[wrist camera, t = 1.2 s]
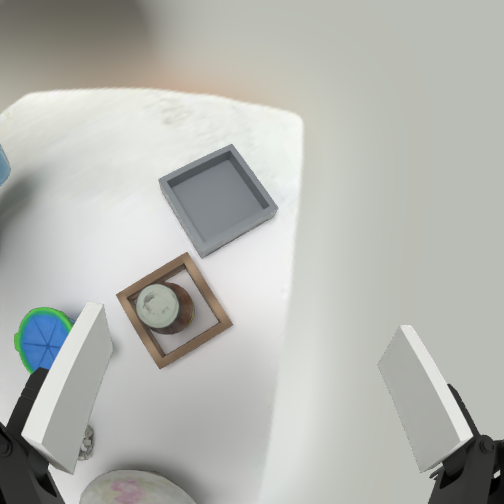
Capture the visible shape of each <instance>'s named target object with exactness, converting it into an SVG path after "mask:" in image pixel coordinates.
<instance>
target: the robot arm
mask: <svg viewBox="0 0 504 504" xmlns="http://www.w3.org/2000/svg"><path fill="white" fill-rule="evenodd" d="M10 171H11V168H10V164H9V161H8V159H7V157H6V155H5V153H4V150H3V148H2V146H1V144H0V186H1V185H2V184H3V183H4V182H5V181H6V179H7V178H8V177H9V175H10ZM113 350H114V349H113V345H112V341H111V337H110V333H109V328H108V324H107V319H106V314H105V309H104V304H99V303H93V302H87V304H86V305H85V307H84V309H83V310H82V312H81V314H80V315H79V317H78V319H77V320H76V322H75V324H74V326H73V327H72V329H71V331H70V333H69V335H68V336H67V338H66V340H65V342H64V344H63V346H62V347H61V349H60V351H59V353H58V355H57V357H56V359H55V361H54V363H53V365H52V367H51V369H50V370H49V369H45V368H42V367H39V368H38V369H37V370H36V371H34V372H33V373H32V374H31V375H30V377H29V379H28V381H27V383H26V385H25V388H24V389H23V391H22V393H21V397H19V399H18V401H17V404H16V406H15V408H14V410H13V412H12V415H11V417H10V419H9V422H8V424H7V426H6V427H5V426H4V425H3V424H2V423H1V422H0V504H65V502H64V500H63V498H62V497H61V495H60V493H59V491H58V489H57V487H56V485H55V482H54V480H53V478H52V476H51V474H50V472H49V470H48V465H49V463H50V464H51V465H52V466H53V467H55V468H56V469H59V470H61V471H64V472H67V473H69V474H72V475H73V474H74V470H75V466H76V462H77V459H78V455H79V451H80V448H81V444H82V441H83V437H84V434H85V430H86V427H87V424H88V421H89V417H90V414H91V411H92V408H93V405H94V402H95V399H96V396H97V393H98V390H99V388H100V385H101V382H102V379H103V376H104V374H105V371H106V368H107V365H108V363H109V360H110V358H111V355H112V352H113ZM377 365H378V368H379V370H380V372H381V374H382V377H383V379H384V381H385V383H386V386H387V388H388V391H389V393H390V395H391V398H392V400H393V402H394V405H395V407H396V410H397V412H398V415H399V417H400V420H401V422H402V425H403V427H404V430H405V432H406V435H407V438H408V440H409V443H410V445H411V448H412V451H413V453H414V456H415V459H416V462H417V465H418V467H419V470H420V473H422V472H425V471H427V470H430V469H432V468H434V467H436V466H437V465H438V464H440V463H441V462H442V463H443V466H442V467H440V468H439V469H437V470H436V471H435V472H433V473H432V474H431V475H430V477H429V478H433V477H434V476H435V475H437V474H438V476H436V477H435V478H434V480H436V482H435V485H434V488H433V491H432V494H431V497H430V499H429V502H428V504H504V440H496V441H493V440H492V439H491V438H490V437H489V436H487V435H480V434H479V432H478V430H477V428H476V426H475V424H474V422H473V420H472V418H471V416H470V414H469V412H468V410H467V409H466V408H465V405H464V403H463V402H462V399H461V397H460V396H459V394H458V392H457V391H456V390H455V389H454V388H453V387H452V386H451V385H450V384H446V382H445V380H444V379H443V377H442V375H441V373H440V372H439V370H438V368H437V366H436V365H435V363H434V361H433V360H432V358H431V356H430V355H429V353H428V351H427V350H426V348H425V347H424V345H423V343H422V342H421V340H420V338H419V337H418V335H417V334H416V332H415V330H414V329H413V327H412V326H411V325H401V326H399V327H398V329H397V331H396V332H395V334H394V336H393V338H392V340H391V342H390V344H389V345H388V347H387V349H386V351H385V352H384V354H383V356H382V357H381V359H380V361H379V363H378V364H377ZM499 470H500V476H498V477H497V478H494V474H495V473H496V472H497V471H499Z"/></svg>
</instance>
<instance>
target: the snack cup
mask: <svg viewBox="0 0 504 504" xmlns="http://www.w3.org/2000/svg"><path fill="white" fill-rule="evenodd" d="M75 322H76V321H74V320H72V319H70V318H68V317H67V316H66V315H65V314H64V313H63V312H61V311H58V310H56V309H53V308H48V307H41V308H36V309H33V310H31V311H30V312H29V313H28V314H27V315H26V316H25V317H24V319H23V320H22V322H21V324H20V327H19V331H18V333H16V334H15V335H14V343H15V349H16V350H17V351H18V352H19V354H20V357H21V360H22V362H23V364H24V366H25V367H26V369H27V370H28V371H29V373H30V374H32V373H33V372H34V371H36V370H37V369H38V368H39V367H42V368H45V369H49V370H50V369H51V367H52V365H53V363H54V361H55V359H56V357H57V355H58V353H59V351H60V349H61V347H62V346H63V344H64V342H65V340H66V338H67V336H68V335H69V333H70V331H71V329H72V327H73V326H74V324H75Z"/></svg>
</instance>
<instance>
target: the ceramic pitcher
mask: <svg viewBox="0 0 504 504" xmlns="http://www.w3.org/2000/svg"><path fill="white" fill-rule="evenodd" d="M79 504H197V503H196V502H195V501H194V499H193V498H192V497H191V496H190V495H189V494H187V493H186V492H185V491H184V490H183V489H181V488H180V487H179V486H177V485H176V484H175V483H173V482H172V481H170V480H169V479H167V478H165V477H164V476H162V475H160V474H159V473H157V472H151V471H137V470H115V471H111V472H108V473H105V474H103V475H101V476H99V477H97V478H95V479H94V480H93V481H92V482H91V483H90V484H89V485H88V486H87V487H86V489H85V490H84V491H83V493H82V494H81V498H80V503H79Z"/></svg>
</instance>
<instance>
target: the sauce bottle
mask: <svg viewBox="0 0 504 504" xmlns="http://www.w3.org/2000/svg"><path fill="white" fill-rule="evenodd" d="M136 311H137V314H138V316H139V318H140V319H141V320H142V322H143V323H144V324H146V325H147V326H148V327H149V328H150V329H151V330H153V331H155V332H157V333H160V334H175V333H178V332H180V331H182V330H183V329H184V328H186V327H187V326H188V325H189V324H190V322H191V321H192V319H193V316H194V306H193V302H192V300H191V298H190V296H189V294H188V293H187V292H186V291H185V290H184V289H183V288H182V287H180V286H179V285H177V284H174V283H169V282H158V283H157V284H152V285H150V286H147V287H146V288H144V289H143V290H142V291H141V292H140V294H139V296H138V298H137V301H136Z"/></svg>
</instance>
